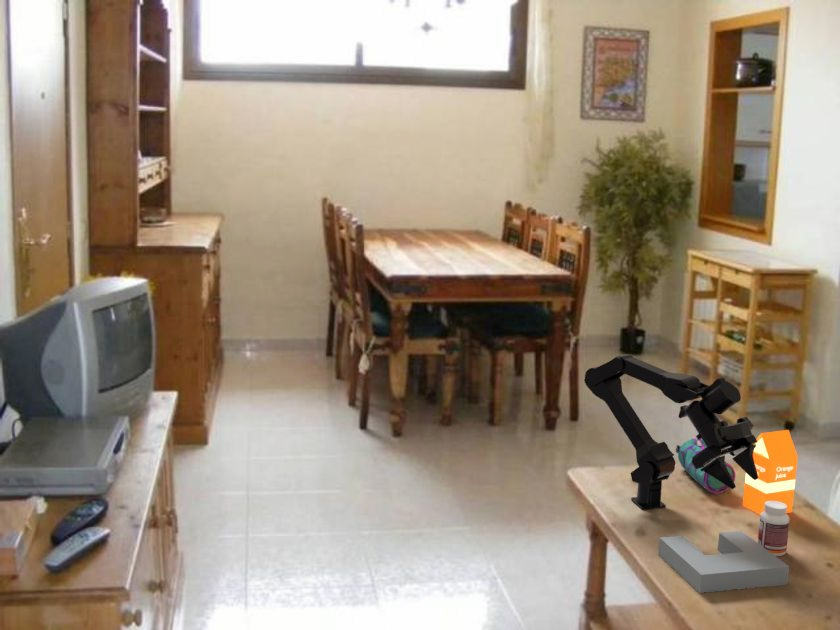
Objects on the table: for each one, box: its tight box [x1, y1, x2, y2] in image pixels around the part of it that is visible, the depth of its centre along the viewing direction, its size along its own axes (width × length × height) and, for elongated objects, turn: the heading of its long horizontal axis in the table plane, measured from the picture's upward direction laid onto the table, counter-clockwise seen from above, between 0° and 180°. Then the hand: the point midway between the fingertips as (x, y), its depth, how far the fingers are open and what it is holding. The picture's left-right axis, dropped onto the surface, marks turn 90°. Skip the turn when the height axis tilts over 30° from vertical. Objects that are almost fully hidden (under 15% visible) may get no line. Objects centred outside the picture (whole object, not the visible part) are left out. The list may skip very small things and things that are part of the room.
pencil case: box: [675, 437, 736, 495], centre depth 261 cm, size 21×9×10 cm, turn 6°
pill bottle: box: [756, 501, 790, 557], centre depth 219 cm, size 6×6×11 cm
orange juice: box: [742, 429, 799, 516], centre depth 242 cm, size 8×9×20 cm
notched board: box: [657, 530, 790, 594], centre depth 210 cm, size 18×20×4 cm
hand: (745, 483), depth 223 cm, fingers open, 9 cm apart
